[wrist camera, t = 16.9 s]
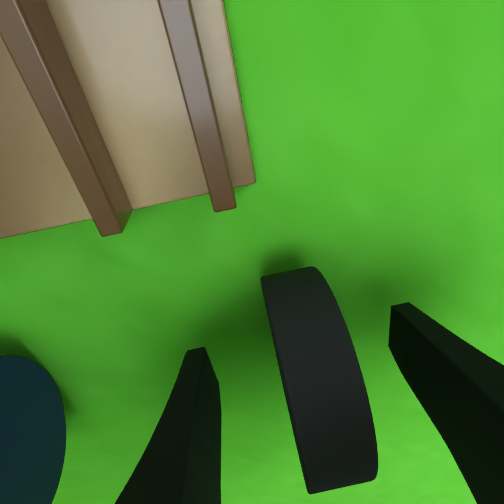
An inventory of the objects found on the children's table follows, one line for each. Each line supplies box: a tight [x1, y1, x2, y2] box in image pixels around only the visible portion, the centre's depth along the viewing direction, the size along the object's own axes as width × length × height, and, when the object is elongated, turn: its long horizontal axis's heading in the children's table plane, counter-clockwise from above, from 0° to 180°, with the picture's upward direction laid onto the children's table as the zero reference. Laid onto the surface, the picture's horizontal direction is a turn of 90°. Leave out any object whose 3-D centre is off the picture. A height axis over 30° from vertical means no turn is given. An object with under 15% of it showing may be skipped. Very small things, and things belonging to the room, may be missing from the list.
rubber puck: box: [260, 266, 378, 494], centre depth 11 cm, size 2×6×6 cm, turn 11°
